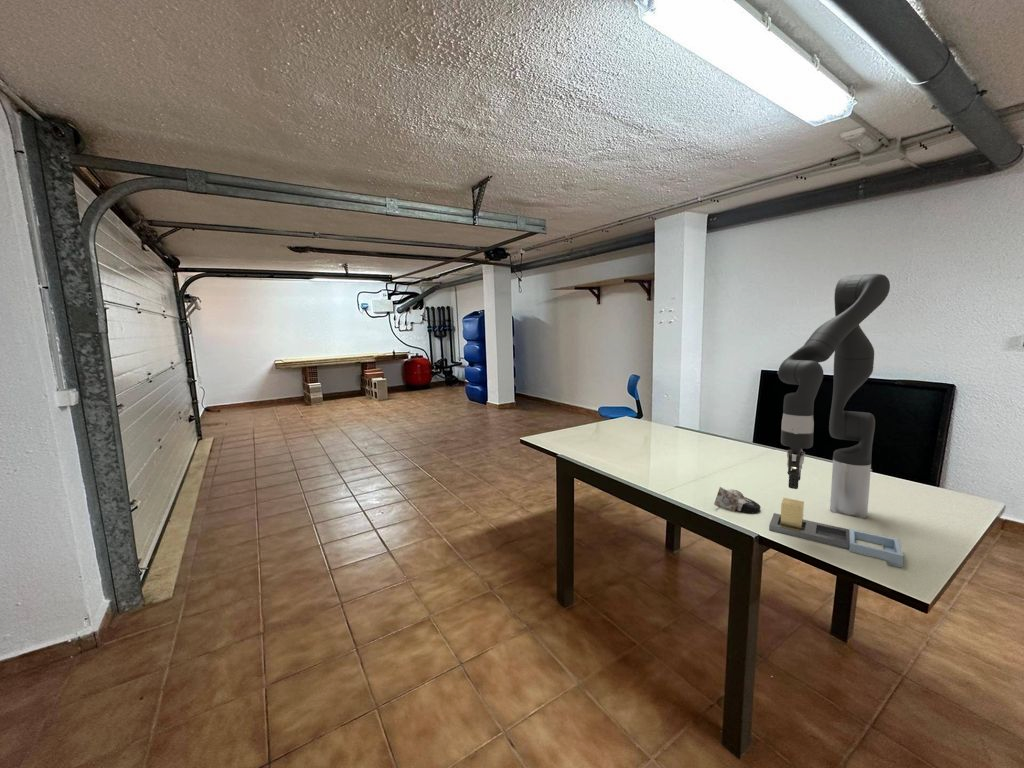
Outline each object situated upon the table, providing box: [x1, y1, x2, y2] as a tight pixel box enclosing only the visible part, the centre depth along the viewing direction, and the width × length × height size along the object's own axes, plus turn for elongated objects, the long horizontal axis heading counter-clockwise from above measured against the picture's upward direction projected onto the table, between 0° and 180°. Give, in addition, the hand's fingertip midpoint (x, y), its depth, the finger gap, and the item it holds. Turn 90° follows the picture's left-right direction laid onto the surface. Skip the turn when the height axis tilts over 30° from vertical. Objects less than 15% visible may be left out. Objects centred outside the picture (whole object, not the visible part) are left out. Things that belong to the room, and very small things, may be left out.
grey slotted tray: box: [768, 512, 850, 550], centre depth 114 cm, size 10×18×2 cm, turn 50°
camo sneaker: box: [713, 486, 761, 514], centre depth 131 cm, size 7×11×10 cm
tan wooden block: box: [780, 497, 805, 530], centre depth 116 cm, size 5×5×8 cm
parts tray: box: [848, 528, 904, 568], centre depth 104 cm, size 10×10×3 cm
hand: (794, 483), depth 114 cm, fingers open, 8 cm apart
